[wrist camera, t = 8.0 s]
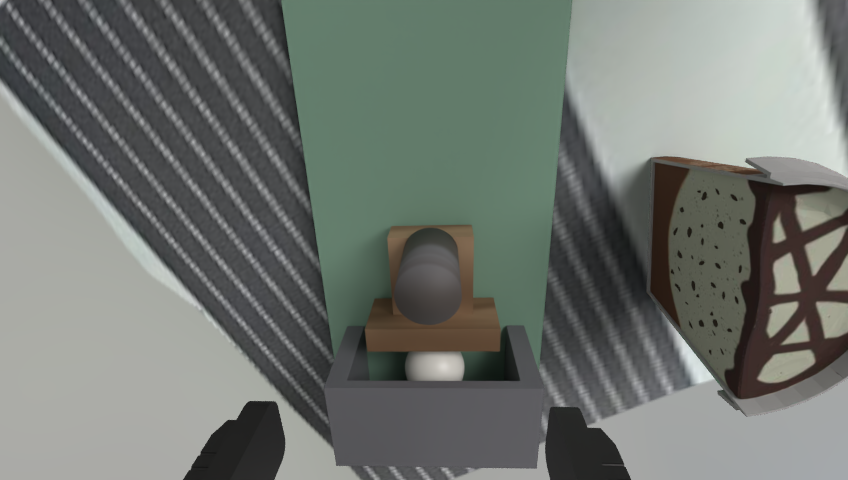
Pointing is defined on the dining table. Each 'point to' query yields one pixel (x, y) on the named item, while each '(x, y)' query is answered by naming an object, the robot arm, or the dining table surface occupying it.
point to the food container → (754, 274)
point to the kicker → (432, 295)
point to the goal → (435, 413)
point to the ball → (434, 366)
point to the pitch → (431, 147)
